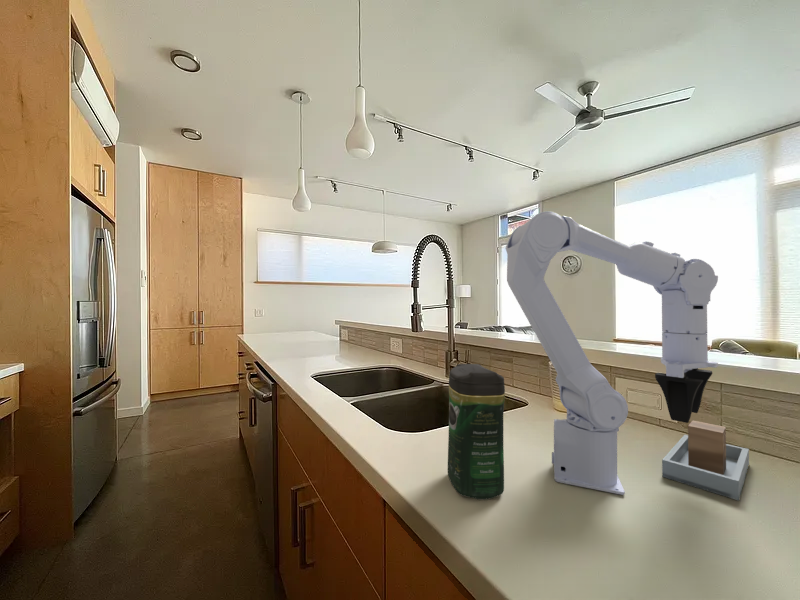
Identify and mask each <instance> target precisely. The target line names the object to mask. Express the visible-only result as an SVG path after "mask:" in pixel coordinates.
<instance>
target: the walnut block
mask: <svg viewBox="0 0 800 600" xmlns="http://www.w3.org/2000/svg"><path fill="white" fill-rule="evenodd" d="M687 433H688V434H687V435H688V465H689V466H693V467H696V468H700V469H703V470H707V471H710V472H714V473H718V474H721V475H724V473H725V470H726V444H727V427H726V426H723V425H717V424H714V423H713V424H712V423H707V422H704V421H703V422H702V421H698V420H691V422H689V424H688V425H687Z"/></svg>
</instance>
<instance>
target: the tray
mask: <svg viewBox="0 0 800 600" xmlns="http://www.w3.org/2000/svg"><path fill="white" fill-rule="evenodd" d="M661 460H662V461H661V470H662V472H661V476H662V478H666V479H668V480H672V481H674V482H679V483H681V484H684V485H687V486H690V487H694V488H698V489H699V490H703V491H707V492H710V493H713V494H717V495H720V496H722V497H725V498H729V499H732V500H736V501H740V498H741V494H742V491H743V487H744V485H745V480H746V477H747V474H746V473H748V470H747V469H749V467H748V465H749V466H750V448H747V447H741V446H738V445H737V446H736V445H733V444H729V443H726V470H725V473H724V475H721V474H718V473H714V472H710V471H707V470H703V469H700V468H696V467H693V466H689V465H688V434H683V436H682V437H681V438H680V439H679V440H678V441H677V442H676V443H675V445H674V446H673V447H672V448H671V449H670V450H669V452H667V454H666V455H665V456H664V457H663V458H662V459H661Z"/></svg>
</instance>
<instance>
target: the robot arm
mask: <svg viewBox="0 0 800 600" xmlns="http://www.w3.org/2000/svg"><path fill="white" fill-rule="evenodd" d="M654 245H655V244H654V243H653V242H650V241H648V240H646V241H642V242H640V241H639V242H634V243H631V244H629V245H627V244H624V243H622V242H620V241H618V240H616V239H613V238H610V237H608V236H606V235H604V234H603V233H602V234H601V233H599V232H598V231H595V230H593V229H591V228H589V227H586V226H583V225H582V224H580V223H578V222H576V220H574V219H573V218H572V217H571V216H565V215H563V216H562V215H560V214H558V213H557V212H555V211H550V210H549V211H548V210H547V211H541V212H539V213H536V214H535V215H534V216H533V217H532V218H531V219H529V220H528V221H526V222H525V223H523V225H520V226H518V227H517V228H515V229H514V230H513V231H512V233H511V234H510V237H509V238H508V240H507V243H506V245H505V251H506V256H507V258H506V259H507V261H506V266H507V267H506V282H507V284H508V286H509V288H510V290H511V292H512V294H513V296H514V297H515V299H516V302H517V303H518V306H519V307H520V308H521V310H522V312H523V314H524V316H525V317H526V318H527V319H526V320H527V321H528V323H529V324H530V325H529V326H531V328H532V331H533V333H535V336H536V337H537V339H538V341H539V343H540V344H541V346H542V348H543V350H544V352H545V354H546V355H547V357H548V359H549V361H550V362H551V364H552V366H553V368H554V370H555V371H556V373H557V374H556V376H555V382H556V384H557V385H558V386H557V387H558V390H559V400H560V402H561V404H562V406H563V408H564V409H566V418H564V419H559V418H557V419H556V418H554V419H553V451H552V452H551V464H552V465H553V471H554V472H553V473H554V481H555V482H557V483H562V484H566V485H570V486H571V485H572V486H576V487H581V488H587V489H592V490H597V491H601V492H606V493H611V494H616V495H622V496H625V494H626V493H625V492H626V491H625V488H624V487H623V484H622V482H621V480H620V478H619V475H618V432H620V427H621V426H622V425H623V424H624V423H625V422H626V420H627V417H628V416H629V415H628V414H629V406H628V402H627V400H626V398H625V397H624V396H623V394H621V393H620V392H619V391H618V390H615V389H614V387H612V385H611V384H610V382H609V381H608V379H607V378H606V377H605V376H604V375H603V374H602V373H601V372H600V371H599V370H597V368H595V367H594V366H593V365H592V363H591V362H590V360H589V358H588V356H587V355H586V353H585V350H584V349H583V348H582V345H581V343H580V342H579V341H578V339H577V337H576V335H575V333H574V331H573V329H572V328H571V326H570V324H569V322H568V321H567V319H566V316H565V315H564V313H563V312H562V310H561V308H560V306H559V304H558V302H557V301H556V299H555V298H554V295H553V294H552V291H551V290H550V288H549V287H548V284H547V283H546V281H545V279H544V278H545V275H546V273H547V271H548V268H549V265H550V263H551V260H552V259H553V258H554V257H555V256H556V255H557V254H558V253H561V252H566V251H573V252H576V253H580V254H582V255H585V256H589V257H592V258H595V259H598V260H601V261H605V262H608V263H610V264H615V265H616V268H617V271H618V273H619V274H620V275H622V276H626V277H628V278H631V279H633V280H636V281H638V282H642V283H644V284H647V285H648V286H649V285H650V286H652V287H653V288H654V290H655V291H656V293H658V294H659V295H661V351H662V353H661V355H662V356H661V357H660V363H661V364H662V365H664V366H665V372H664V373H663V372H656V373H655V374H654V378H655V380H656V382H657V383H658V385H659V387H660V389H661V390H662V393H663V395H664V399H665V402H666V406H667V410H668V415H669V417H670V419H671V420H672V421H675V422H681V423H685V424H688V423H690V420H691V416H692V413H695V414H698V413H699V410H700V407H701V403H702V399H703V393H704V391H705V388H706V385H707V382H708V381H709V380H710V378H711V377H712V375H713V371H712V370H709V369H706V368H718V367H719V362H717V361H710V360H709V361H708V358H709V357H708V355H709V354H708V352H709V351H708V348H709V347H708V305H709V303H710V302H711V294H712V292H713V290H714V289H715V288H716V286H717V283H718V280H719V276H718V275H716V274H715V270H714V268H713V267H712V266H711V264H709V263H707V262H706V261H704V260H702V259H699V258H691V259H690V258H689V259H684V258H683V257H681V254H680V253H676V252H671V253H670V252H668V251H665V250H662V249H660V248H657V247H654Z"/></svg>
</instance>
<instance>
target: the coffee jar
mask: <svg viewBox="0 0 800 600" xmlns="http://www.w3.org/2000/svg"><path fill="white" fill-rule="evenodd" d="M448 377H449V378H448V400H449V401H448V406H449V407H448V438H447V439H448V443H447V445H448V447H447V476H448V479H449V481H450V483H451V485H452V487H453V488H454V489H455V491H456V492H457V493H458V494H459V496H462V497H468V498H472V499H475V500H484V501H485V500H492V499H493V498H496V497H499V496H501V495H503V493H504V491H505V465H504V464H505V463H504V462H505V461H504V459H505V458H504V455H505V454H504V408H505V400H506V398H505V397H506V391H505V389H506V387H505V385H506V384H505V379H504V378H505V377H504V376H503V375H501V374H498V372H496V371H493V370H490V369H489V368H485V367H484V366H483V365H481V364H478V363H458V364H457V365H456V366H454V367H453V368H451V369H450V371H449V375H448Z"/></svg>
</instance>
